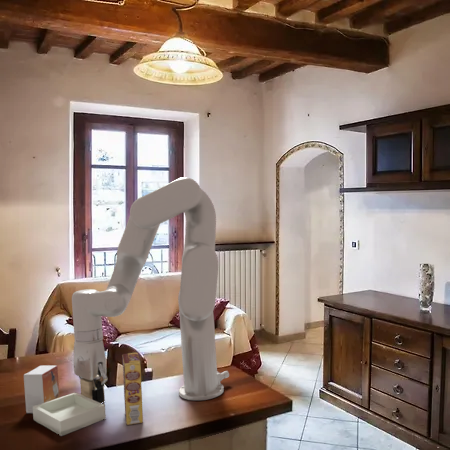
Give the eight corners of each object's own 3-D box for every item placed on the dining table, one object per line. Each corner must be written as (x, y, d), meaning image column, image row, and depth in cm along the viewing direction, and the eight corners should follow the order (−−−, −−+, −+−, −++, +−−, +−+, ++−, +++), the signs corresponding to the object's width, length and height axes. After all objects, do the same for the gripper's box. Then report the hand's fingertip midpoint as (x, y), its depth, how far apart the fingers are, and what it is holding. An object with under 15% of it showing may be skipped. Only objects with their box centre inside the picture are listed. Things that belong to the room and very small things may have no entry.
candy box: (144, 423, 120) (140, 361, 119) (126, 425, 118) (122, 363, 118) (141, 409, 128) (137, 351, 128) (125, 412, 127) (121, 353, 127)
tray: (76, 404, 134) (75, 392, 134) (105, 418, 124) (104, 404, 123) (33, 420, 125) (32, 406, 125) (61, 436, 115) (60, 421, 115)
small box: (44, 414, 129) (41, 374, 129) (25, 413, 130) (22, 374, 130) (60, 402, 137) (58, 364, 137) (42, 401, 138) (40, 364, 138)
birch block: (96, 399, 138) (94, 374, 137) (104, 402, 134) (103, 377, 134) (81, 404, 134) (80, 379, 134) (90, 408, 131) (88, 382, 131)
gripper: (61, 334, 137) (65, 398, 138) (92, 342, 125) (97, 412, 126) (85, 328, 143) (89, 390, 143) (117, 336, 131) (122, 403, 131)
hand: (93, 400), depth 134 cm, fingers open, 4 cm apart
